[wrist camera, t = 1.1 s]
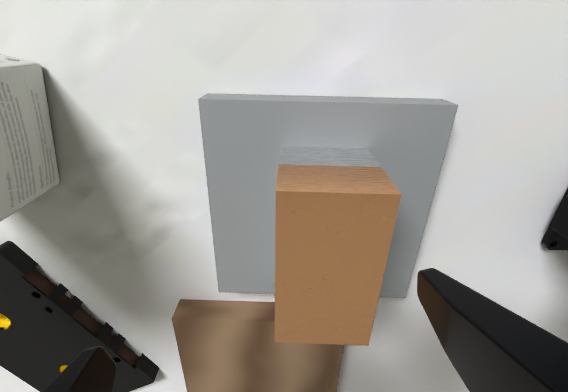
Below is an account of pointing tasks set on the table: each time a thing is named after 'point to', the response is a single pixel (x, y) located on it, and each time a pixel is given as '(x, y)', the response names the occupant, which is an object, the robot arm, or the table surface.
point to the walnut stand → (247, 351)
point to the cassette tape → (54, 329)
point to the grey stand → (314, 133)
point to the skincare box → (24, 136)
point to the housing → (330, 243)
